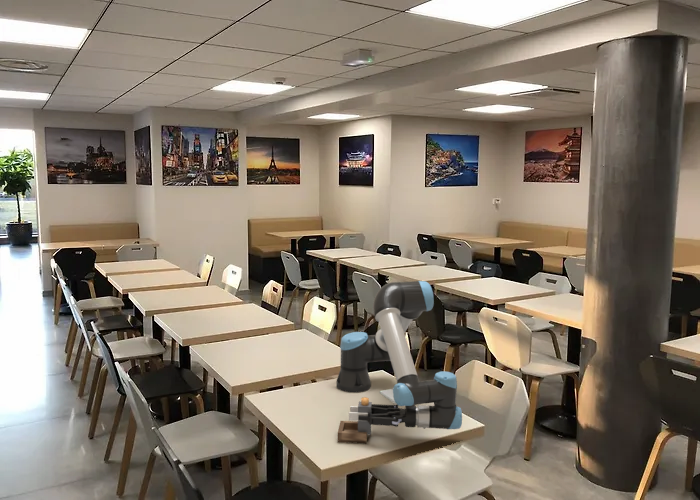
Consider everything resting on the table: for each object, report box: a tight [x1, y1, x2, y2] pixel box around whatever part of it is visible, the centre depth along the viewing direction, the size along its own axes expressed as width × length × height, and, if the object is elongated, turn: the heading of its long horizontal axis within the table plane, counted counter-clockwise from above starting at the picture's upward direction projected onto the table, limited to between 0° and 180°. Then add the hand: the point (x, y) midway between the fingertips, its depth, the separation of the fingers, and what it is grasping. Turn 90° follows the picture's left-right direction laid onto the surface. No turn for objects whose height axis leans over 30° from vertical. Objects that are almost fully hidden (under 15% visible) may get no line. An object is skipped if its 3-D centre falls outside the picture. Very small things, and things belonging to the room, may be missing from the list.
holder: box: [336, 420, 368, 445], centre depth 200 cm, size 10×10×4 cm
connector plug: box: [358, 396, 373, 436], centre depth 199 cm, size 4×4×12 cm
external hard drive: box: [379, 388, 396, 405], centre depth 238 cm, size 2×8×12 cm
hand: (349, 413), depth 199 cm, fingers closed on connector plug, 4 cm apart
